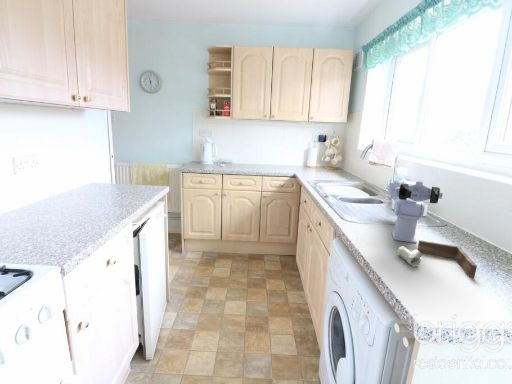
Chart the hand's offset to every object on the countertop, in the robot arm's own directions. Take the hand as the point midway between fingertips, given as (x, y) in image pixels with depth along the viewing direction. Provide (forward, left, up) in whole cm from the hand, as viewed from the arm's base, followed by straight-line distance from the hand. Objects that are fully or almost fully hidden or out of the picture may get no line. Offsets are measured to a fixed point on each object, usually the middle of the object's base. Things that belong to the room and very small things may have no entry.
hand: (423, 195), depth 93 cm
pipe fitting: (+3, 0, -22) cm, 22 cm away
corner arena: (0, +9, -22) cm, 24 cm away
